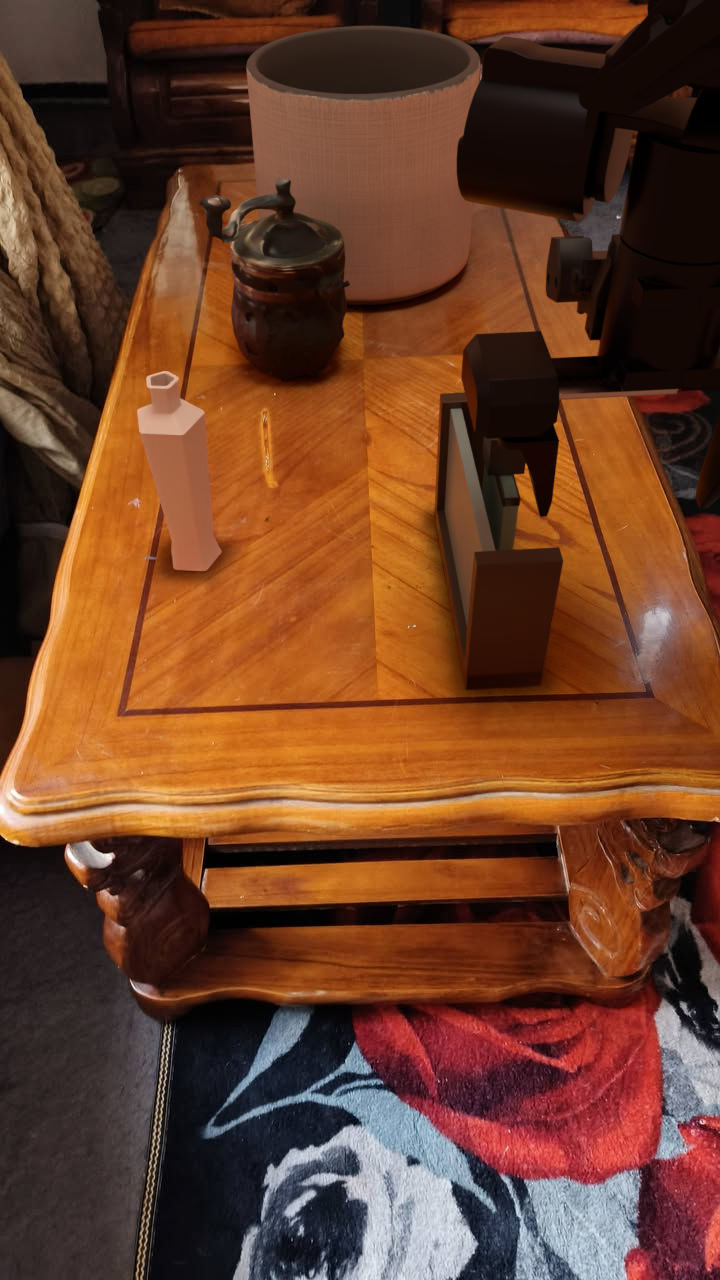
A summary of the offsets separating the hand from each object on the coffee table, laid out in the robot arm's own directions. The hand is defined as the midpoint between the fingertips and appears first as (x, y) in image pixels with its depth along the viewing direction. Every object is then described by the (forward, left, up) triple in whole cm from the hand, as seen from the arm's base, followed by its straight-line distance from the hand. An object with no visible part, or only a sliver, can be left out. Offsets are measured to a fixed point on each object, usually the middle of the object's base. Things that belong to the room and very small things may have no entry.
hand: (621, 507), depth 55 cm
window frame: (+6, -7, -13) cm, 16 cm away
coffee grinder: (+20, -39, -13) cm, 46 cm away
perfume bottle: (+27, -13, -13) cm, 33 cm away
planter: (+11, -60, -13) cm, 62 cm away
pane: (+5, -8, -11) cm, 15 cm away
